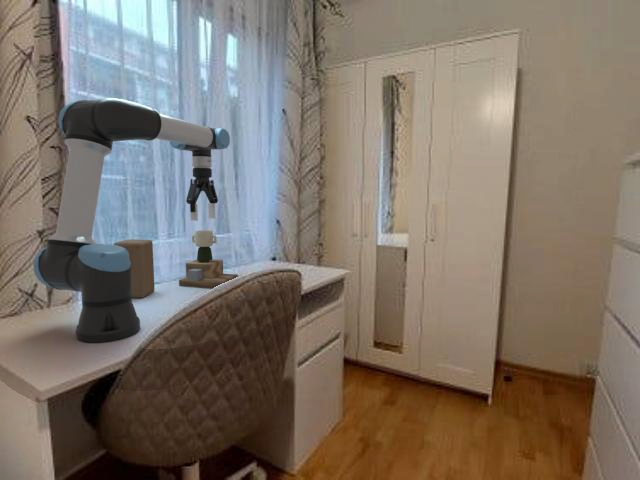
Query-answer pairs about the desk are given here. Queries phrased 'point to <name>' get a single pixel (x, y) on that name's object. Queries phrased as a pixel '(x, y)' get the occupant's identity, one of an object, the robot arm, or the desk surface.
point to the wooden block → (140, 266)
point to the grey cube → (195, 274)
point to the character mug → (204, 244)
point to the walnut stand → (207, 274)
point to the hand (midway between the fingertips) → (203, 219)
